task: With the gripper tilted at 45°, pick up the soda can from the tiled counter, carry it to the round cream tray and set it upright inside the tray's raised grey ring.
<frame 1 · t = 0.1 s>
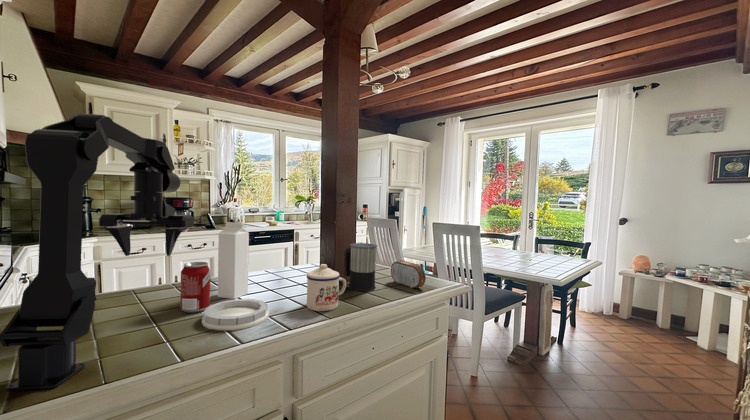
hand: (148, 255, 78), 15 cm above the counter, tool pointing down, fingers open, 9 cm apart
teacup with lid: (327, 305, 89), on the counter
milk: (233, 295, 95), on the counter
tin: (406, 286, 112), on the counter
soda can: (195, 310, 82), on the counter
ring tray: (236, 318, 77), on the counter
milk frother: (350, 289, 106), on the counter
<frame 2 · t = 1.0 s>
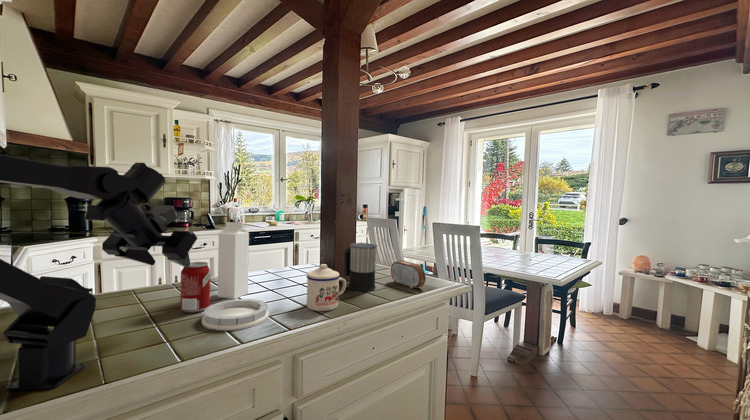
hand: (171, 264, 74), 13 cm above the counter, tool tilted 45°, fingers open, 9 cm apart
nothing on the counter moved.
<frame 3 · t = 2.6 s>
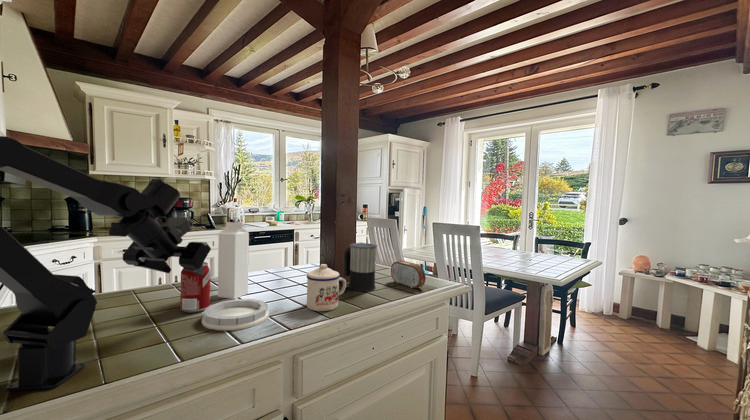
hand: (186, 272, 78), 10 cm above the counter, tool tilted 45°, fingers open, 9 cm apart
nothing on the counter moved.
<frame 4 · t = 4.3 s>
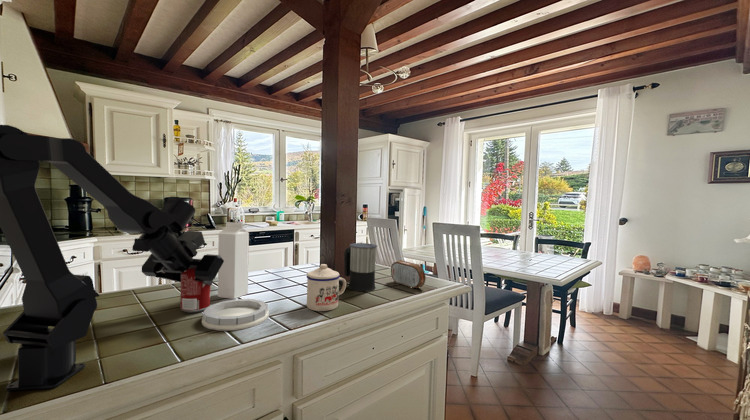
hand: (199, 283, 83), 7 cm above the counter, tool tilted 45°, fingers closed on soda can, 7 cm apart
soda can: (195, 310, 82), on the counter, touching gripper
everything else where it was.
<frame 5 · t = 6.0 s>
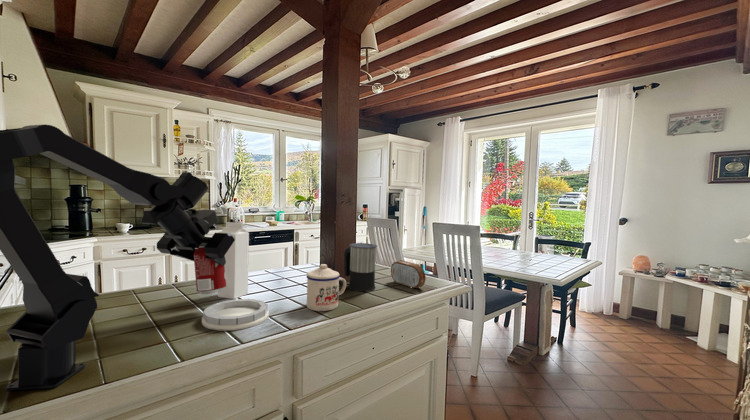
hand: (213, 263, 82), 12 cm above the counter, tool tilted 45°, fingers closed on soda can, 7 cm apart
soda can: (212, 292, 81), point 5 cm above the counter, touching gripper
everything else where it was.
when the fingers open (8 cm above the counter, at t = 8.1 s): soda can stays where it is, resting on ring tray.
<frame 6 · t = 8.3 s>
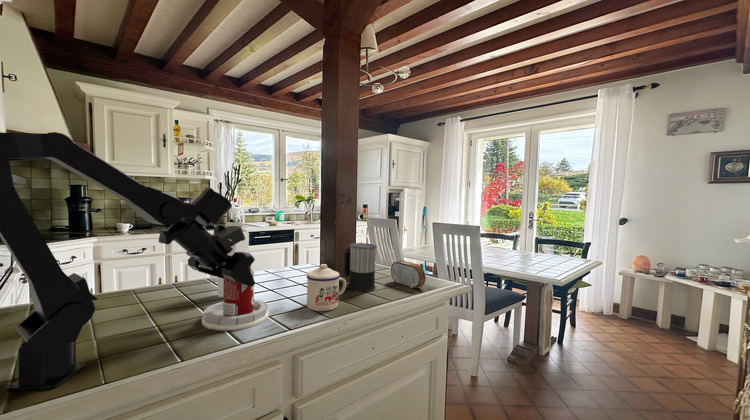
hand: (242, 281, 78), 9 cm above the counter, tool tilted 45°, fingers open, 9 cm apart
soda can: (238, 315, 76), point 1 cm above the counter, touching gripper, ring tray
everything else where it was.
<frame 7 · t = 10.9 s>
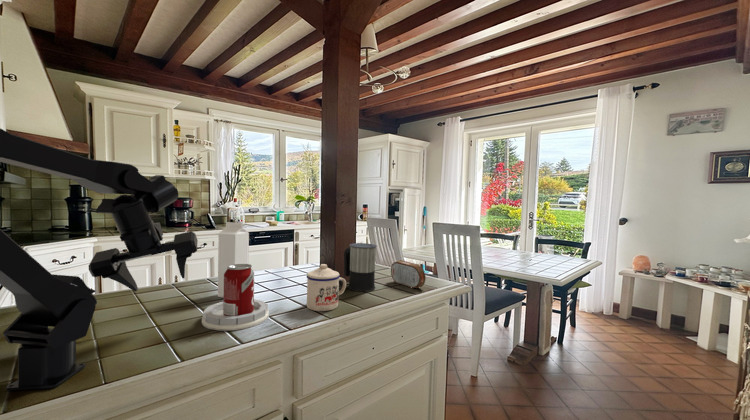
hand: (160, 283, 71), 10 cm above the counter, tool tilted 25°, fingers open, 9 cm apart
soda can: (238, 315, 76), point 1 cm above the counter, touching ring tray
everything else where it was.
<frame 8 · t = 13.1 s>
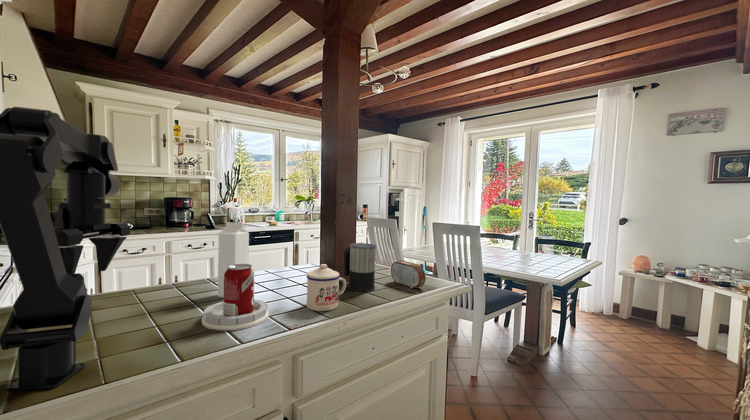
hand: (86, 276, 63), 13 cm above the counter, tool pointing down, fingers open, 9 cm apart
nothing on the counter moved.
at the end: soda can 1.0 cm from the ring tray (horizontally); soda can point 0.8 cm above the counter; soda can tilted 0° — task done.
